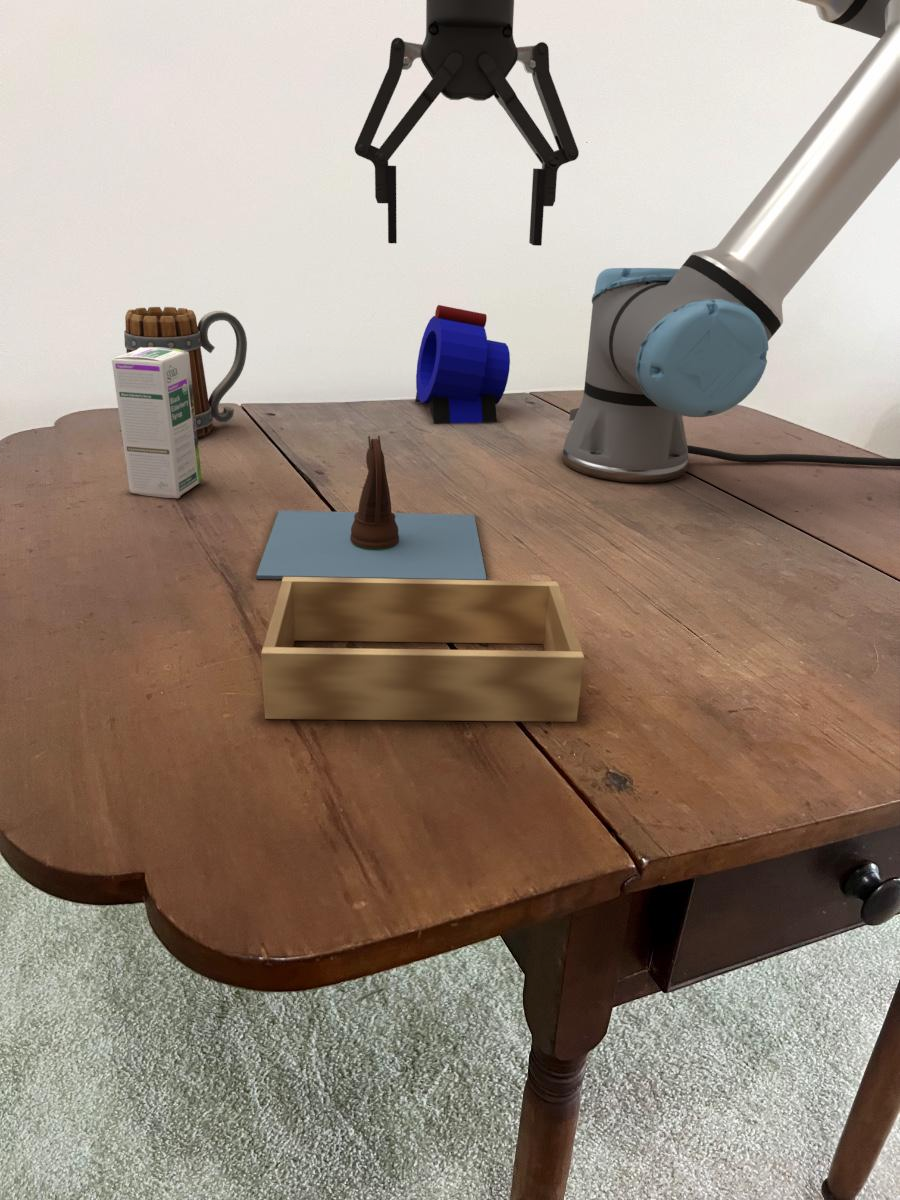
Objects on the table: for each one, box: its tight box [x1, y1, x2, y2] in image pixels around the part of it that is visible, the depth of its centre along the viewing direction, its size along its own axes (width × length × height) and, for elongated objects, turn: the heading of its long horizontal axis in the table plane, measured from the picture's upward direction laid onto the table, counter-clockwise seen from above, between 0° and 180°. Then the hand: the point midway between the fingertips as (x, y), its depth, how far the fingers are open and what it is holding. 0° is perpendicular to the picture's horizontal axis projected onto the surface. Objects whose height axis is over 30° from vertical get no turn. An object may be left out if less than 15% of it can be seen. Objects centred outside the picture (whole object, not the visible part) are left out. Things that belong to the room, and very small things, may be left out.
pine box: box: [260, 577, 585, 723], centre depth 65 cm, size 21×12×5 cm, turn 93°
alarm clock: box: [415, 304, 511, 425], centre depth 131 cm, size 12×12×15 cm
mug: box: [123, 306, 248, 439], centre depth 116 cm, size 16×11×15 cm
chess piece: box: [350, 435, 399, 550], centre depth 85 cm, size 5×5×10 cm
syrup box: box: [111, 347, 203, 499], centre depth 96 cm, size 6×6×14 cm
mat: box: [255, 509, 488, 581], centre depth 87 cm, size 20×16×1 cm
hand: (464, 243), depth 87 cm, fingers open, 13 cm apart
